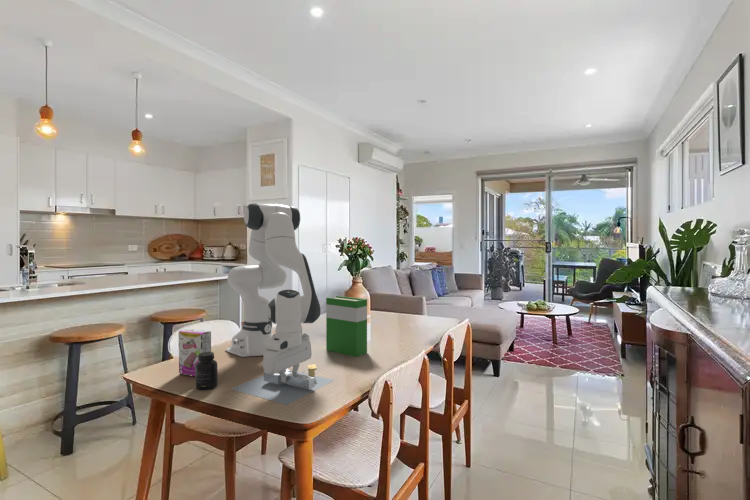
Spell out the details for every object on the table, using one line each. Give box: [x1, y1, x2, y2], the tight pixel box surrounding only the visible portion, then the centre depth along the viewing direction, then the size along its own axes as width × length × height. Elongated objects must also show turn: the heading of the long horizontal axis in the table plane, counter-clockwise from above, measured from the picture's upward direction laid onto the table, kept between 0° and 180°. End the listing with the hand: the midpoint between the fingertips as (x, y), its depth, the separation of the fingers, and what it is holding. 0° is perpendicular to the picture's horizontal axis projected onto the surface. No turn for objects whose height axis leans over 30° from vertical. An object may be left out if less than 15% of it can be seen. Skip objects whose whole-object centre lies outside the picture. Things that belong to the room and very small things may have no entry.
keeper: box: [306, 363, 318, 377], centre depth 138 cm, size 3×5×4 cm, turn 15°
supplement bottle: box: [195, 351, 219, 392], centre depth 130 cm, size 7×7×12 cm
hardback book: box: [325, 295, 368, 358], centre depth 174 cm, size 18×7×24 cm, turn 54°
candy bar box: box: [178, 328, 212, 377], centre depth 144 cm, size 11×5×16 cm, turn 71°
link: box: [263, 368, 315, 389], centre depth 131 cm, size 18×6×3 cm, turn 60°
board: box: [230, 369, 335, 406], centre depth 132 cm, size 25×24×1 cm
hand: (289, 379), depth 131 cm, fingers closed on link, 3 cm apart
